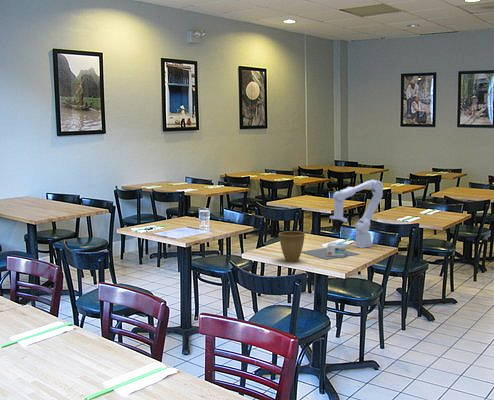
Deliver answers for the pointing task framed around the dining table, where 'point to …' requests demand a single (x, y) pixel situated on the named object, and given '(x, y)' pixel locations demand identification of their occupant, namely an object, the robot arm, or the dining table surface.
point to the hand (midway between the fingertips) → (338, 231)
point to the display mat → (325, 253)
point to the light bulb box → (336, 249)
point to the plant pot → (291, 244)
